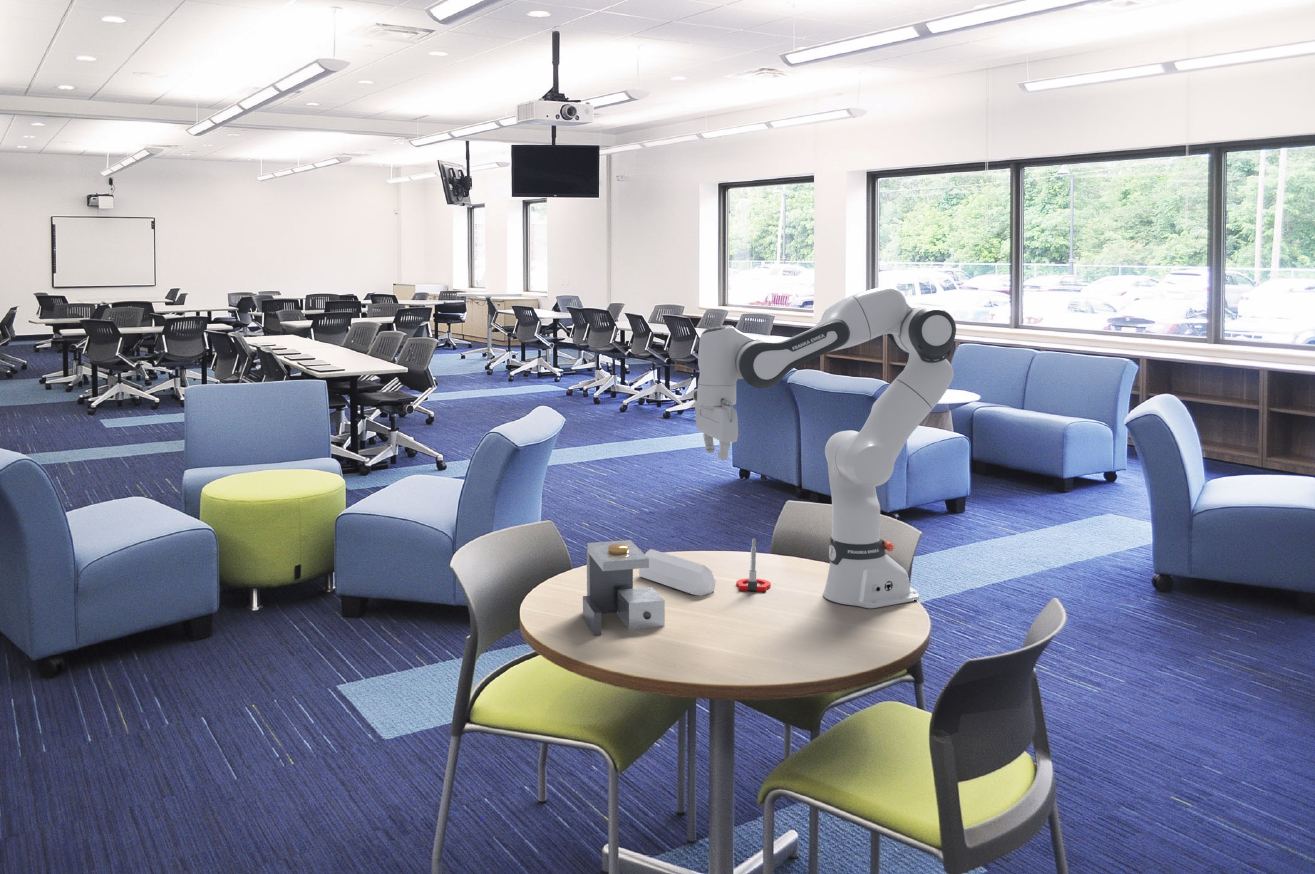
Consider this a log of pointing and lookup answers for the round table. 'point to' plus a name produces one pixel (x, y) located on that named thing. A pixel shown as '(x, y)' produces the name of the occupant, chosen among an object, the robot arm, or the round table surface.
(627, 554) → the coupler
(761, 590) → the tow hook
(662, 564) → the crystal
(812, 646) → the round table surface
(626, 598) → the brushed aluminum block
